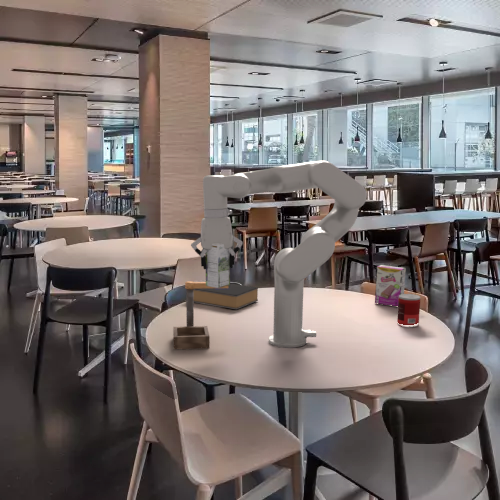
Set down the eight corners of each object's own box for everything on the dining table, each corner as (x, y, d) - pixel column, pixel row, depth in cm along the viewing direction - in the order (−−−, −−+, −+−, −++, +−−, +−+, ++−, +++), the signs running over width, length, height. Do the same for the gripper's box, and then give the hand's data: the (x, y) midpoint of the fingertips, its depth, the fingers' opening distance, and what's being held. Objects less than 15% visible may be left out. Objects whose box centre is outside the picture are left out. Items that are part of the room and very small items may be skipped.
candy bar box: (374, 304, 244) (376, 266, 241) (378, 301, 248) (380, 264, 245) (400, 308, 238) (402, 269, 235) (403, 305, 242) (406, 267, 239)
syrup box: (217, 283, 191) (216, 240, 189) (230, 285, 188) (229, 241, 185) (205, 286, 187) (204, 242, 185) (219, 288, 183) (217, 243, 181)
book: (209, 294, 258) (209, 280, 257) (257, 302, 245) (258, 287, 244) (186, 302, 243) (186, 287, 242) (236, 311, 231) (236, 295, 229)
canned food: (422, 324, 214) (424, 296, 213) (412, 329, 209) (413, 299, 207) (403, 320, 219) (405, 292, 218) (393, 324, 214) (394, 296, 212)
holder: (206, 331, 202) (206, 286, 199) (209, 348, 184) (209, 298, 182) (173, 332, 200) (173, 287, 198) (173, 349, 183) (173, 299, 180)
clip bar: (185, 287, 197) (185, 281, 196) (227, 286, 198) (227, 281, 198) (185, 289, 194) (185, 283, 193) (228, 288, 195) (228, 283, 195)
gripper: (241, 212, 188) (242, 264, 191) (188, 214, 186) (190, 267, 189) (244, 214, 181) (245, 268, 184) (189, 216, 179) (191, 271, 181)
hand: (217, 267), depth 186 cm, fingers closed on syrup box, 8 cm apart
